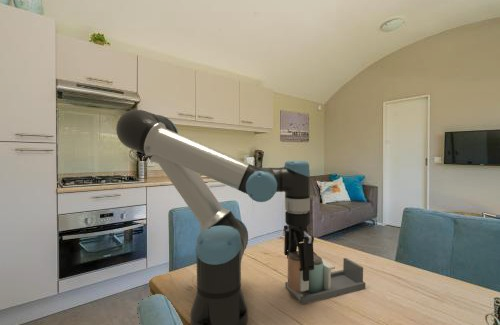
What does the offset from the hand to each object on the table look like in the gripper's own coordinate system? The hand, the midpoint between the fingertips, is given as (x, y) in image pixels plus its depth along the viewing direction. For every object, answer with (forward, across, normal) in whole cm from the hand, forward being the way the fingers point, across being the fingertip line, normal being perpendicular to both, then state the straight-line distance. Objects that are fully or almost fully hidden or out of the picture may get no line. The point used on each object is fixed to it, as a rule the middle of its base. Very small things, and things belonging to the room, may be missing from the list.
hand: (298, 284), depth 78 cm
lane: (+3, 0, -10) cm, 11 cm away
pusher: (+2, 0, -10) cm, 10 cm away
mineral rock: (+4, +18, -17) cm, 25 cm away
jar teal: (+3, 0, -6) cm, 6 cm away
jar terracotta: (0, 0, 0) cm, 1 cm away
